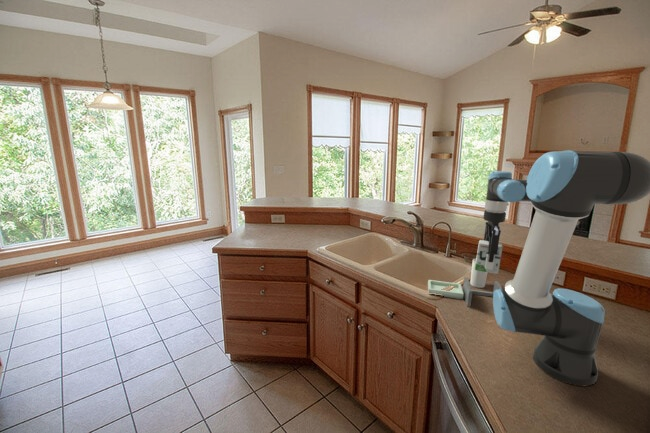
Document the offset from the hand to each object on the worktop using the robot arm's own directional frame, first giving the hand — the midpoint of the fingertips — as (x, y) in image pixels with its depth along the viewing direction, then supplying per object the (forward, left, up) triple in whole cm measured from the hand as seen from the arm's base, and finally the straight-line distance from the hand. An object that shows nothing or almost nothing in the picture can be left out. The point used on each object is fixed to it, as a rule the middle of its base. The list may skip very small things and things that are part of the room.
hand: (487, 265), depth 124 cm
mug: (+17, -2, -16) cm, 24 cm away
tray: (+4, +15, -16) cm, 22 cm away
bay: (0, 0, -16) cm, 16 cm away
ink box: (0, 0, -2) cm, 2 cm away
